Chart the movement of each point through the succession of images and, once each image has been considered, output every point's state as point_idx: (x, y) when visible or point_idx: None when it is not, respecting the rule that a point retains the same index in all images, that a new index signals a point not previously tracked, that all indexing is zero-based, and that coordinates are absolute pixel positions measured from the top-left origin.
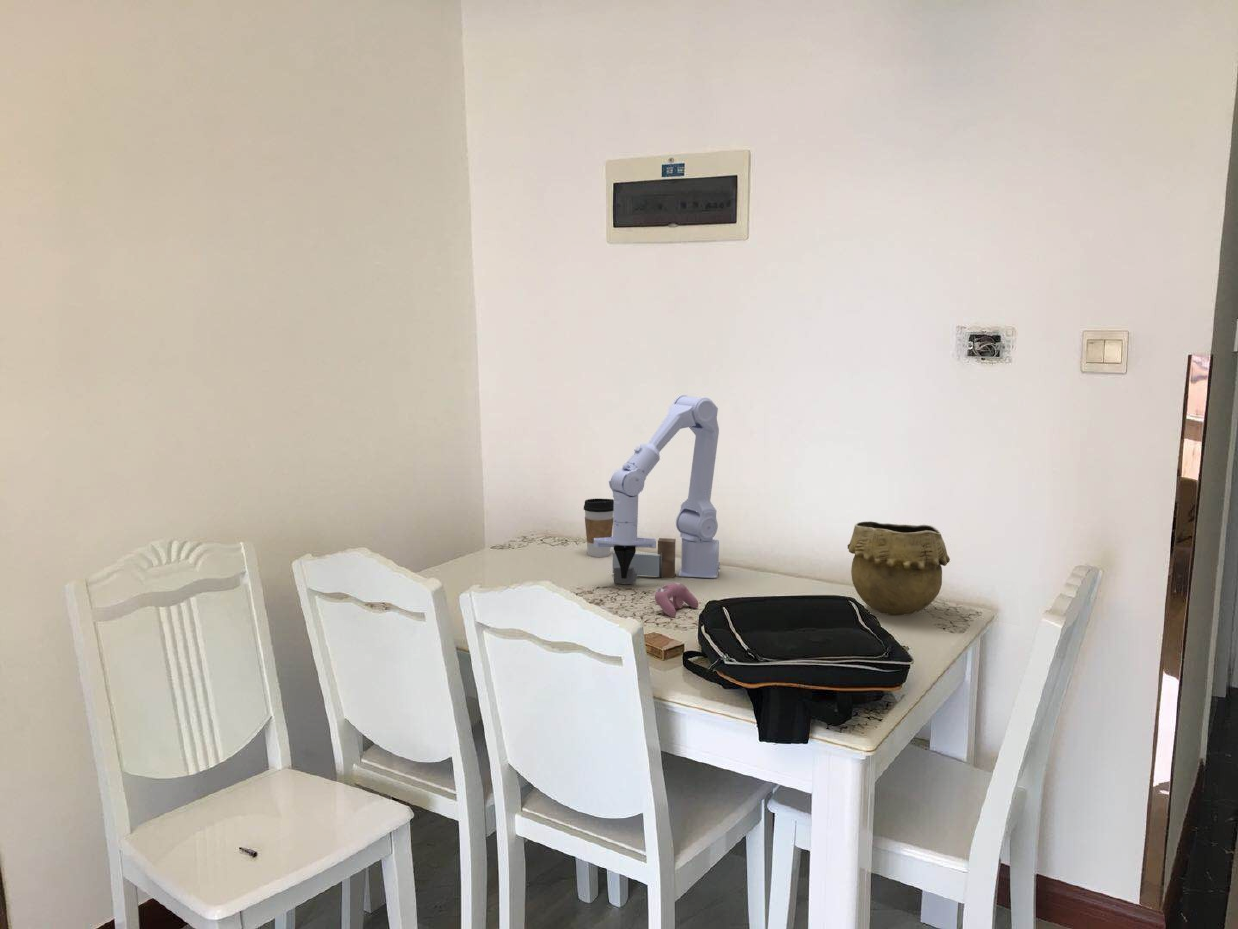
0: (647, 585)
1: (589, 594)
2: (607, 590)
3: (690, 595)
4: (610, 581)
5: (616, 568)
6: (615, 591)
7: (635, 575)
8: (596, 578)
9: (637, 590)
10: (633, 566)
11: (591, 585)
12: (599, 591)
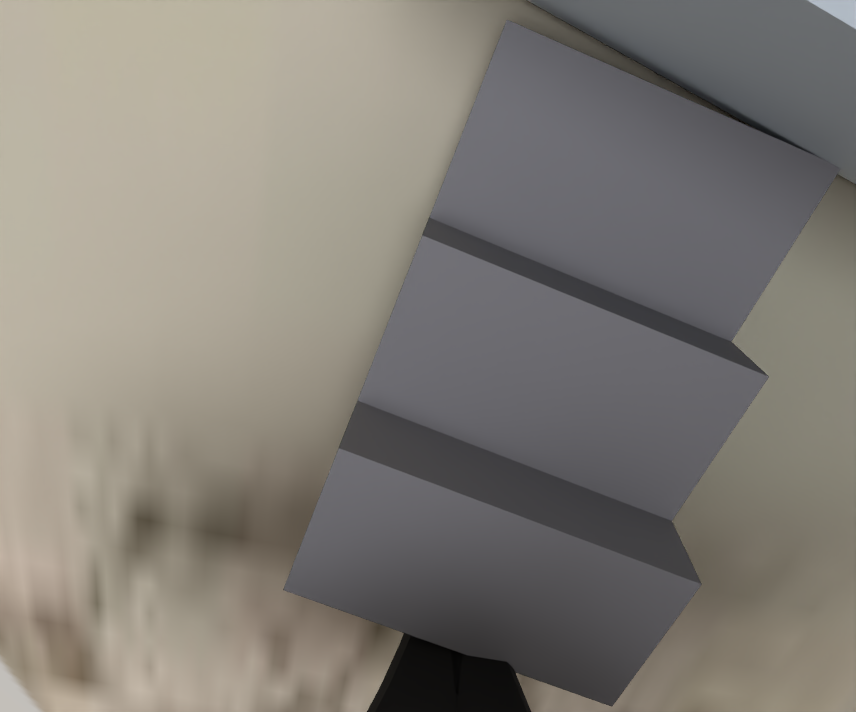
0: (757, 566)
1: (65, 702)
2: (244, 635)
3: None
4: (318, 306)
5: (330, 606)
6: (323, 677)
7: (736, 322)
8: (115, 95)
9: (562, 695)
10: (847, 142)
11: (63, 437)
12: (159, 646)
